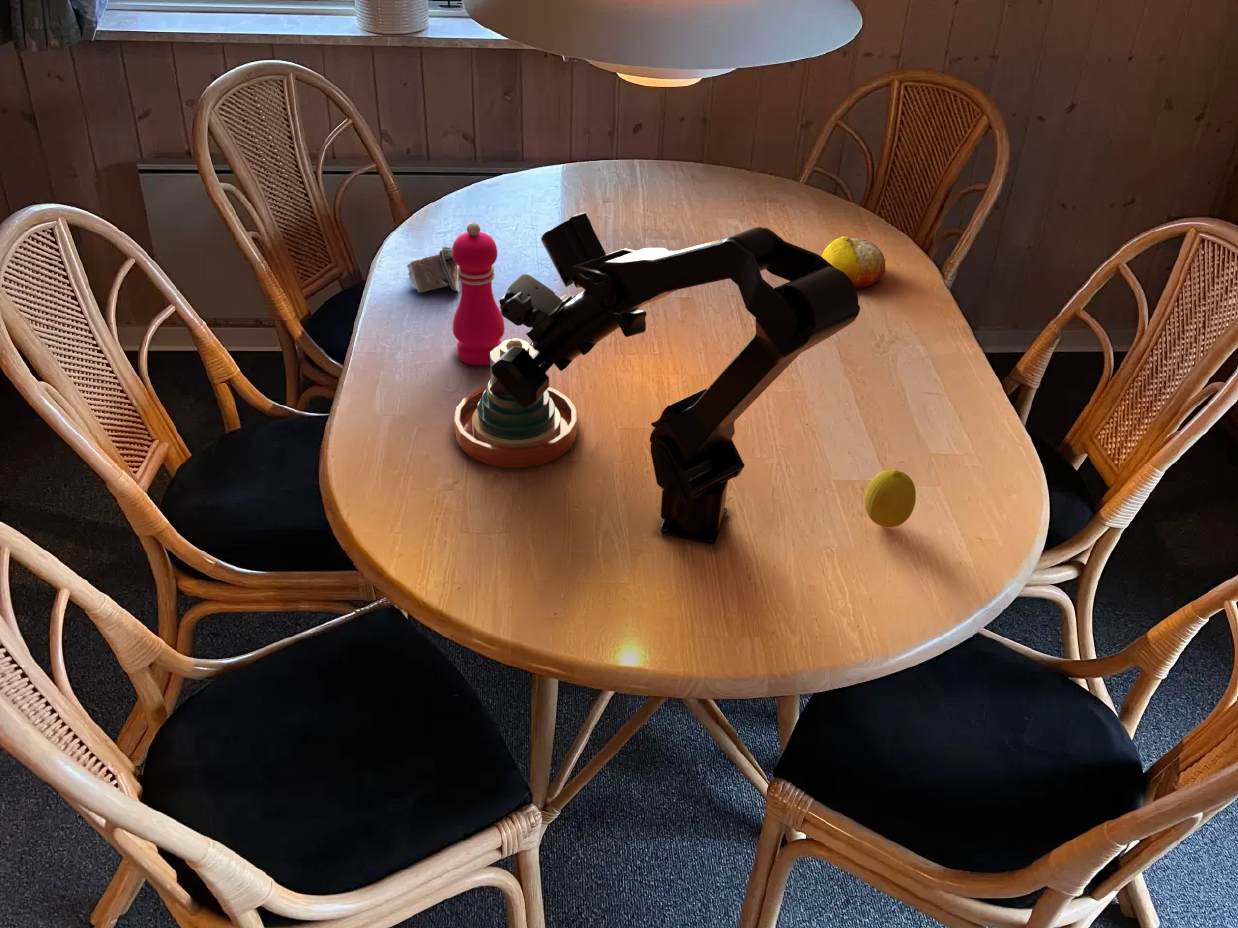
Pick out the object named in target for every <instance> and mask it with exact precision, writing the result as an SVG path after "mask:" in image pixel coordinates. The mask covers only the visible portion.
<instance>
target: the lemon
mask: <svg viewBox="0 0 1238 928" xmlns="http://www.w3.org/2000/svg"><path fill="white" fill-rule="evenodd" d="M916 497H917V495H916V486H915V483H914V481H913V479H912V478H911V477H910V476H909V475H908V474H907V473H905V472H904V471H902V470H899V469H894V468H893V469H892V468H891V469H885V470H881V471H880V472H878V473H877V474H876V475H874V477H873V478H872V479H871V481H870V482H869V484H868V486H867V488H866V492H865V496H864V506H865V507H864V508H865V511H866V513H867V516H868V517H869V519H870V520H872V522H873V523H875V524H876V525H878V526H880V527H882V528H896V527H898V526H901V525H903V524H904V523H905V522H906V521H908V520H909V519H910V517H911V516H912V514H913V511H914V509H915V506H916V500H917V499H916Z"/></svg>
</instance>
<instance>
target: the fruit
mask: <svg viewBox="0 0 1238 928" xmlns="http://www.w3.org/2000/svg"><path fill="white" fill-rule="evenodd" d="M820 256H821V257H823V258H824V259H825V260H826V261H828V262H829V263H830V264H831V265H832V266H834V267H835V268H837V269H839V270H841V271H842V272H844V273H845V274H846V275H847V276H848V277H849V278H850V279H851V281H852V283H853V284H854V286H855V288H856V289H859V288H861V289H863V288H867V287H868V286H870V285H872V284H874V283H877V282H878V281H880V280H881V279H882V277H883V276H884V275H885V273H886V259H885V256H884V254H883V251H882V250H881V249H879V247H878V246H877V244H875V243H873V242H872V241H869V240H868V239H866V238H863V237H854V238H852V237H849V236H846V235H845V236H841V237H840V236H839V237H838V238H836V239H834V240H833V241H832V242H830V243H829V244H828V245H827V246H826V247H825V248H824V249H823V251H822V254H821V255H820Z"/></svg>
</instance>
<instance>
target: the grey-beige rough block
mask: <svg viewBox="0 0 1238 928" xmlns="http://www.w3.org/2000/svg"><path fill="white" fill-rule="evenodd" d="M457 267H458V265H457V264H456V263H455V261H454V259H453V256H452V247H447V246H441V250H440V251H439V253H438V254H434V255H431V256H427V257H423V258H421V259H416V260H413V261H411V262H409V263H407V264H406V268H407V270H408V273H407V274H408V277H409V280H410V283H411V286H413V289H414V290H417V292H418V293H420V294H421V293H426V292H429V291H433V290H437V289H440V288H445V287H448V286H449V287H450V288H451V290H452V291H455V292H458V293H460V291H461V290H460V289H461V288H460V280H459V279H458V277H457V274H458V272H457Z"/></svg>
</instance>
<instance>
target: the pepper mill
mask: <svg viewBox="0 0 1238 928" xmlns="http://www.w3.org/2000/svg"><path fill="white" fill-rule="evenodd" d="M451 248H452V256H453V259H454V261H455V263H456V264H457V265H458V267H457V272H458V274H457V277H458V279H459V282H460V287H461V288H460V289H461V290H460V291H461V292H460V298H459V302H458V305H457V307H456V309H455V313H454V316H453V319H452V333H453V336H454V337H455V339H456V340H457V344H456V347H457V357H458V358H459V360H460V361H462V362H464V363H465V364H468V365H471V366H486V365H490V353H491V351H492V350H493V349H494V348H495V347H497V346H499V345H500V344H501V343H502V340H501V338H502V337H503V336H504V334H505V330H506V327H505V319H504V317H503V316H502V313H501V309H500V307H499V306H498V304H497V302H496V300H495V297H494V294H493V287H492V285H493V284H492V282H493V280H494V279H495V277H496V276H495V266H494V264H495V263H496V261H497V259H498V248H497V244H496V241H495V240H494V239H493V238H492V237H491V236H490V235H489V234H488V233H486V232H483V231H481V226H480V224H479V223H478V222H475V221H471V222H470V223H468V224H467V226H466V232H463V233H461V234H460V235H459V236H457V237H456V239H454V241H453V243H452V247H451Z"/></svg>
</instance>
